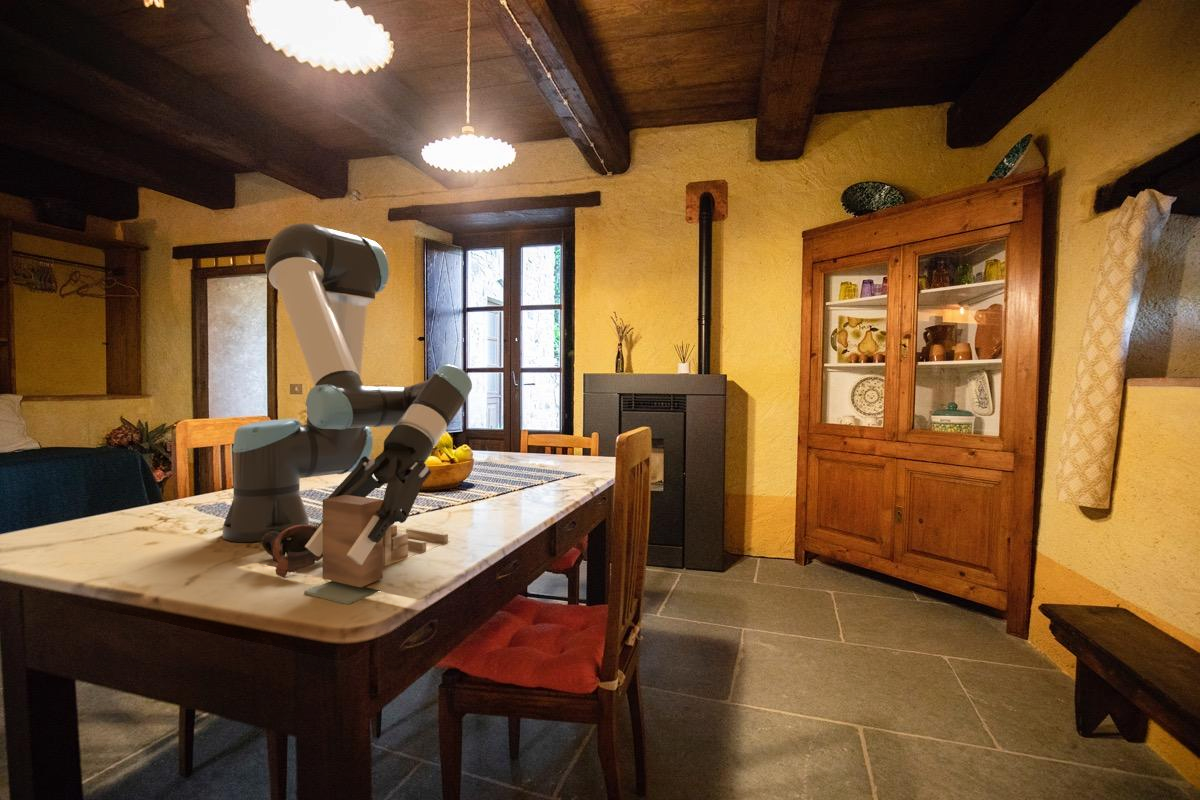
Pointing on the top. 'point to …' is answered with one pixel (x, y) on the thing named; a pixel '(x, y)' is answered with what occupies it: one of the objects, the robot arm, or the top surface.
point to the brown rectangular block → (349, 540)
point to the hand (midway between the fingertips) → (332, 555)
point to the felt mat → (340, 592)
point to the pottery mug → (290, 548)
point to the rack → (409, 543)
